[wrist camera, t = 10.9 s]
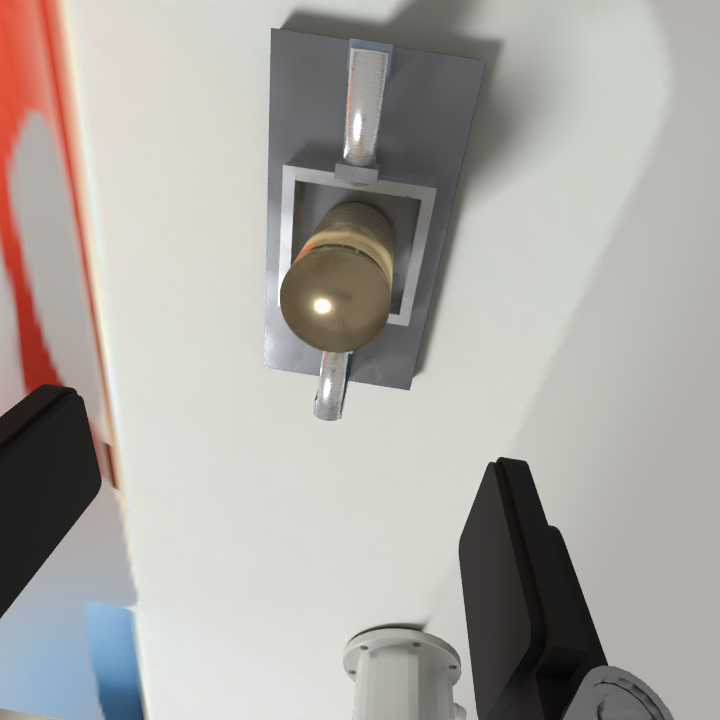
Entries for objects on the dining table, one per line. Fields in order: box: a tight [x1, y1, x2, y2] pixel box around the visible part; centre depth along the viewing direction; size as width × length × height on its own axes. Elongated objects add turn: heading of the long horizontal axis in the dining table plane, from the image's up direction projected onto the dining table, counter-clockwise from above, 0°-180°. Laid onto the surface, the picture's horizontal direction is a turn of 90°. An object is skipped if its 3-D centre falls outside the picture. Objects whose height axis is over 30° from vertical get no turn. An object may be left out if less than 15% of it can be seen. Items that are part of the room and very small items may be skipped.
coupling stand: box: [264, 28, 486, 421], centre depth 23 cm, size 10×18×6 cm, turn 173°
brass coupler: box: [279, 203, 395, 353], centre depth 21 cm, size 4×4×8 cm
